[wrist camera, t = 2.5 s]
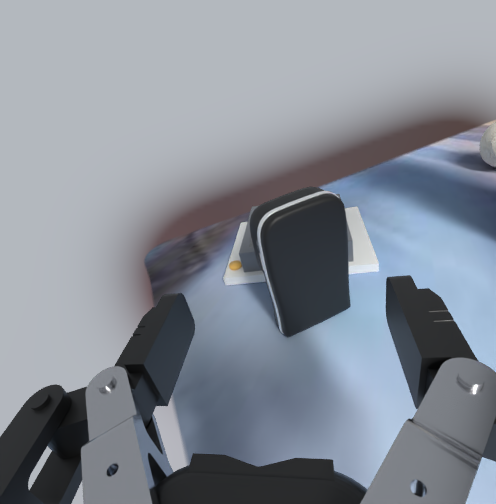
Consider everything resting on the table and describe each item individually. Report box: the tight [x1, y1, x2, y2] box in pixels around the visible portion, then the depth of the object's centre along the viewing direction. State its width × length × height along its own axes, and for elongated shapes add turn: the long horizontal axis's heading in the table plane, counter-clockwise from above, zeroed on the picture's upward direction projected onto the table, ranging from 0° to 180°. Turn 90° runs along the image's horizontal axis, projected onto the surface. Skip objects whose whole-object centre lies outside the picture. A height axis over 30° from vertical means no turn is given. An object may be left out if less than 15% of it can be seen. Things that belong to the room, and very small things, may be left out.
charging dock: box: [223, 194, 379, 285], centre depth 37 cm, size 16×13×4 cm
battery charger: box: [250, 187, 350, 337], centre depth 25 cm, size 7×4×11 cm, turn 112°
